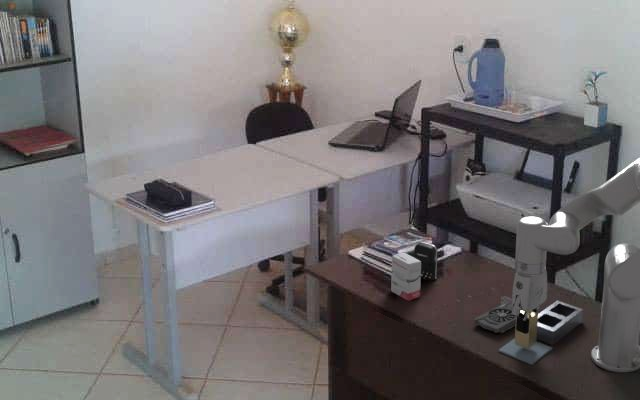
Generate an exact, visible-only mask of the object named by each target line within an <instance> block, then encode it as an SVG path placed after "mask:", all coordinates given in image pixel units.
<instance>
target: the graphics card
mask: <svg viewBox="0 0 640 400" xmlns="http://www.w3.org/2000/svg"><path fill="white" fill-rule="evenodd" d="M500 298H501V299H500V300H501V301H500V305H498V306H496V307H494V308H492V309H491V310H488V311H486V312H484V313H483V314H481V315H479V316H477V317H475V318H473V322H474V323H473V324H475V325H478V326H480V327H481V328H483V329H484V330H488V331H490V332H492V333H494V334H495V333H497V334H498V333H502V334H503V333H505V332H506V331H507V330H510V329H512V328H513V327H515V328H514V329H513V331H515V329H516V316H515V315H512V310H513V306H512V298H509V297H507V296H505V295H504V296H501V297H500Z"/></svg>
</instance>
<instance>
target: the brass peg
mask: <svg viewBox="0 0 640 400" xmlns="http://www.w3.org/2000/svg"><path fill="white" fill-rule="evenodd" d="M520 312H521V313H523V314H524V311H522V310H521V311H520ZM538 314H539V312H534V311H530V312H528V317H527V320H529V323H528V333H527V334H525V333H522V332H519V331H517V330H516V329H515V328H514V329H515V330H514V331H515V333H514V338H515V345H518V346H521V347H523V348H526V349H529V348H531V347H532V346H533V345H535V344H536V342H537V339H536V338H537V322H538ZM516 321H517V318H516Z"/></svg>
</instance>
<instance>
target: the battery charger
mask: <svg viewBox="0 0 640 400" xmlns="http://www.w3.org/2000/svg"><path fill="white" fill-rule="evenodd" d="M413 250H414V251H413V257H414V258H416V259H418V260H419V261H421V279H422V280H424V281H425V280H426V281H430V282H432V281H434V280H436V279H437V278H438V248H437V245H435V244H432V243H430V242H426V241H420V242H418V243H417V244H416V245H414V249H413Z"/></svg>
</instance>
